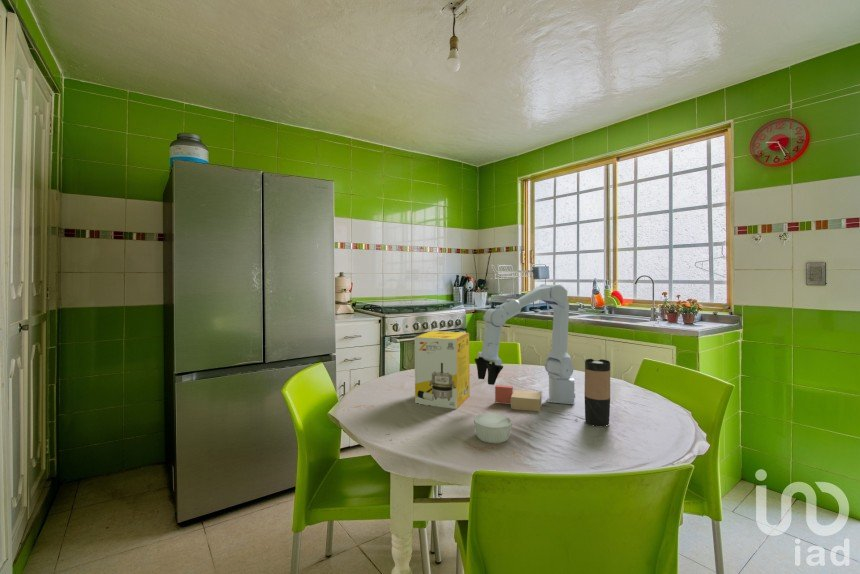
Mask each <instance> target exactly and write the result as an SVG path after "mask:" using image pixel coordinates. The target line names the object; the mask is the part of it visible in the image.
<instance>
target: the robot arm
mask: <svg viewBox="0 0 860 574" xmlns="http://www.w3.org/2000/svg"><path fill="white" fill-rule="evenodd" d="M539 300H541V301H542V302H544V303H545V304H548V305H549V306H550V307H551V309H553V317H552V318H553V319H552V337H551V339H552V340H551V351H550V352H549V353H547V355H546V360H545V363H544V369H545V372H546V373H547V375H548V395H547V403H555V404H565V405H575V399H576V393H575V378H574V377H572V375H573V374H574V366H573V365H574V364H573V361H572V360H573V359H572V357H571V356H570V354H569V353H568V338H569V336H568V335H569V320H570V319H569V317H570V304H569V299H568V290H567V289H566V288H565V287H564V286H563V285H562V284H546V283H544V284H543V283H542V284H540V285H539V286H535V287H534V289H532V290H530V291H529V292H527V293H526V294H524V295H522V296H521V297H519V298H518V299H515V298H507V299H505V302H504V303H501V304H500V305H499V304H497V305H496V306H495V308H489V309H487V310H486V311H485V313H484V315H482V319H483V323H484V331H483V333H484V334H483V339H482V340H483V341H482V347H481V351H478V352H477V356H476V357H477V358H474V362H475V366H476V369H477V379H478V380H485V377H486V375H487V384H488V385H489V386H490V385H491V386H493V385H494V386H495V384H496V381H497V378H498V377H499V374H500V372H501V371H502V370H503V369H504V365H502V364H503V359H501V358H500V357H499V349H500V341H501V334H502V327H503V326H504V325H505V324H506V322H507V320H509V319H511V318H514V317H515V316H516V315H518V314H520V313H521V312H522V308H524V307H527V306H529V305H531V304H533V303H535V302H537V301H539Z"/></svg>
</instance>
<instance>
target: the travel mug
mask: <svg viewBox="0 0 860 574" xmlns="http://www.w3.org/2000/svg"><path fill="white" fill-rule="evenodd" d="M610 409H611V361H610V360H607V359H599V360H595V359H593V358H587V359H585V360H584V421H585V423H586V424H587V425H589V424H590V425H589V426H592V425H594V426H593V427H596V426H606V425H608V424H609V425H610V416H611V415H610V413H611V411H610ZM609 425H608V426H609ZM606 427H607V426H606Z"/></svg>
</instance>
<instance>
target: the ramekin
mask: <svg viewBox="0 0 860 574" xmlns="http://www.w3.org/2000/svg"><path fill="white" fill-rule="evenodd" d="M473 424H474V428H475V435H476V437H477V438H478V440H480V441H481V442H484V443H489V444H501V443H504V442H506V441H508V440H509V438H510V435H511V430H512V426H513V420H512V419H511V418H510V417H509V416H507V415H504V414H499V413H491V412H490V413H482V414H478V415H476V416H475V417H474V419H473Z"/></svg>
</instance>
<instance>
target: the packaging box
mask: <svg viewBox="0 0 860 574" xmlns="http://www.w3.org/2000/svg"><path fill="white" fill-rule="evenodd" d="M470 379H471V378H470V333H469V332H459V331H458V332H457V331H437V330H430V331H427V332H424V333H422V334H419V335H417V336H414V400H415V401H414V404H415V403H419V404H418V405H420V404H426V405H425V406H428V405H431V406H430V407H436V406H437V408H444V409H446V408H447V409H453V410H457V409H459V407H460V406H461V405H462V404H463V403H464V402H465V401H466V400H468V398H469V397H470V395H471V394H470V390H471V389H470V388H471V387H470V386H471V385H470Z"/></svg>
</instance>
